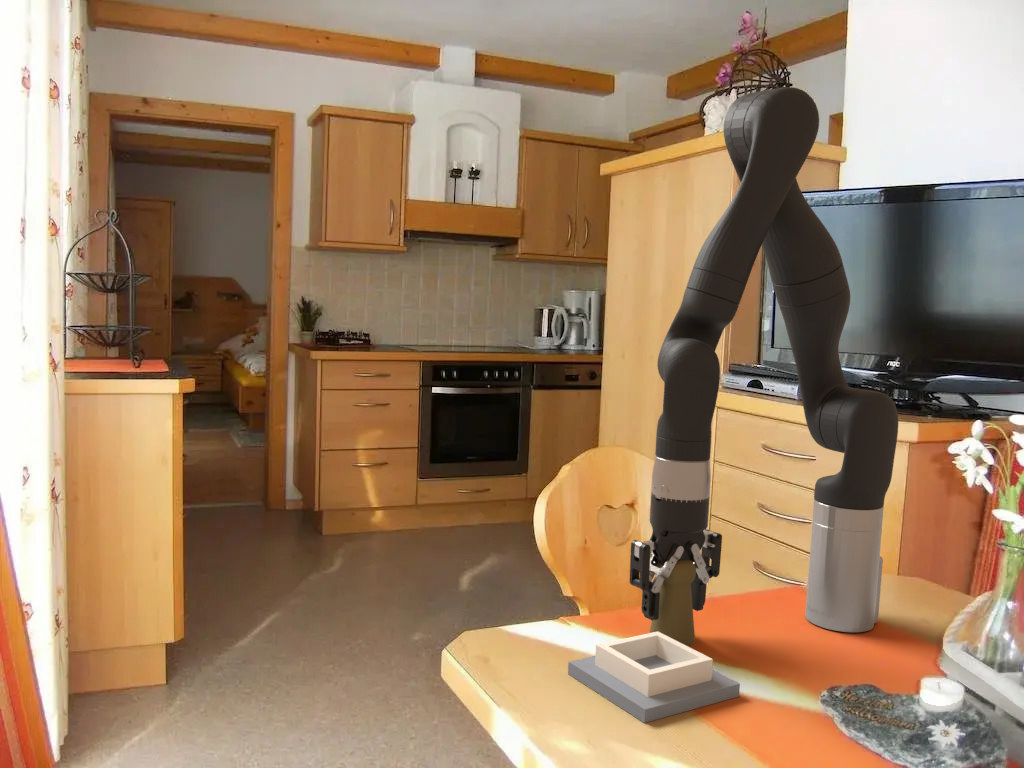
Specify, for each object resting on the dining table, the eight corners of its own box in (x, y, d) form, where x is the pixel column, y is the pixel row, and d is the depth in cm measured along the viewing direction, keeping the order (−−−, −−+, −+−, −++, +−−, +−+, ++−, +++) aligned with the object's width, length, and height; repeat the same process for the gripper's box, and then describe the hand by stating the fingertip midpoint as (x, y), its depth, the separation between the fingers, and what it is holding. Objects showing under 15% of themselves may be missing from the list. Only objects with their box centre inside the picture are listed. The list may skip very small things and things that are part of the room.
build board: (657, 652, 118) (659, 622, 117) (739, 696, 106) (741, 662, 105) (567, 673, 110) (569, 641, 110) (644, 723, 98) (646, 686, 98)
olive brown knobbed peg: (694, 649, 119) (699, 566, 118) (647, 644, 120) (652, 561, 119) (695, 632, 125) (700, 553, 124) (650, 627, 126) (654, 549, 125)
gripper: (701, 481, 128) (693, 597, 129) (619, 490, 120) (612, 613, 122) (741, 492, 121) (733, 614, 123) (657, 502, 114) (650, 632, 115)
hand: (673, 613), depth 122 cm, fingers open, 7 cm apart
